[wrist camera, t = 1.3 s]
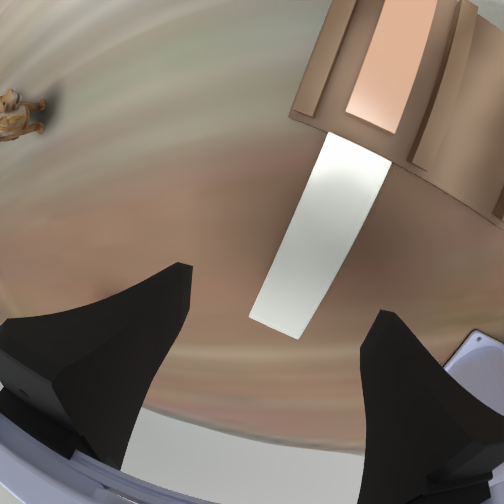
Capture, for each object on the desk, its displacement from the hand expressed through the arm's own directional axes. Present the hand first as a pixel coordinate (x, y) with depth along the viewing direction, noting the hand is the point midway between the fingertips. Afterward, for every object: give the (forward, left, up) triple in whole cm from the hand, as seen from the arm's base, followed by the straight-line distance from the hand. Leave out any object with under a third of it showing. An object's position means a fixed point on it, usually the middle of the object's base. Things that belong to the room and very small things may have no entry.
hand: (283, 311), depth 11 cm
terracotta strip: (-1, -14, -10) cm, 17 cm away
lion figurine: (+33, -2, -11) cm, 35 cm away
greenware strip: (0, 0, -11) cm, 11 cm away
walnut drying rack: (-4, -14, -11) cm, 18 cm away
